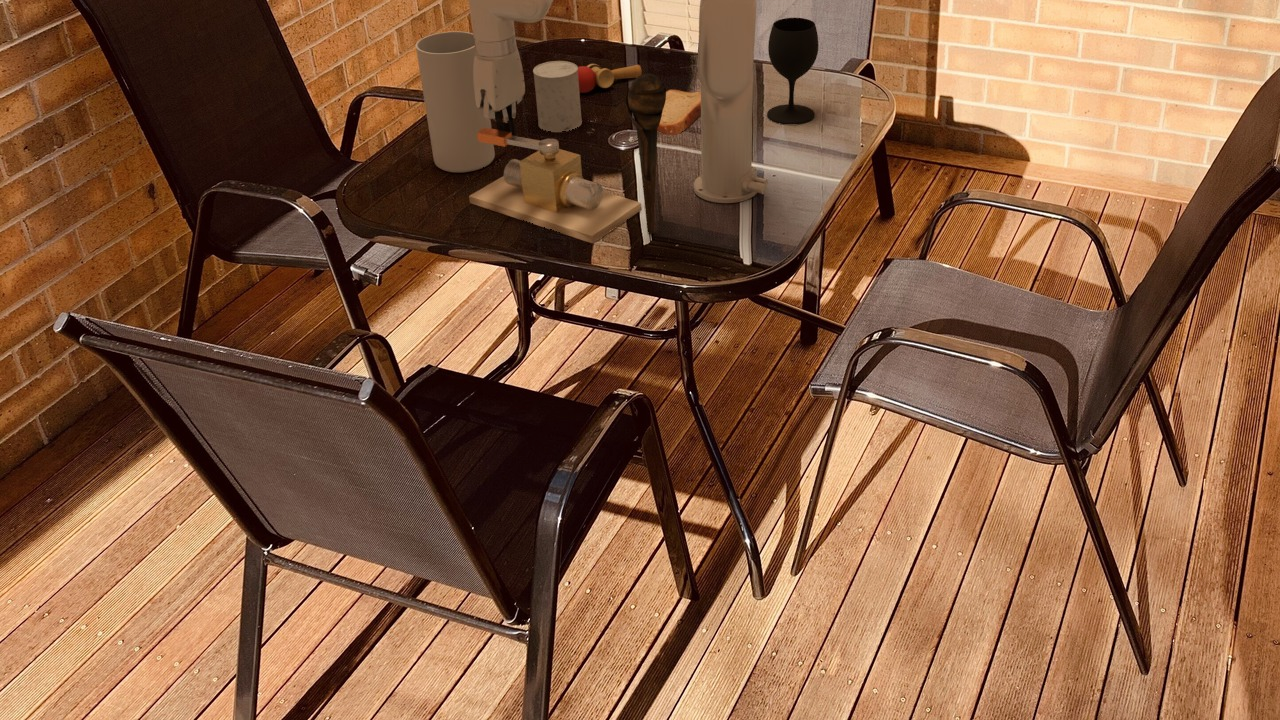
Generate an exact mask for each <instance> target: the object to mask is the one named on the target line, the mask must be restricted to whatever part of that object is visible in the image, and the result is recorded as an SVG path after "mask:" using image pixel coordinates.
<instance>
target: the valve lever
mask: <svg viewBox="0 0 1280 720" xmlns="http://www.w3.org/2000/svg"><path fill="white" fill-rule="evenodd" d="M491 128H492V127H491ZM491 128H483V129H482V130H480V131H479V132H477V137H478V142H483V143H488V144H494V146H499V147H504V148H505V147H507V146H508V145H510V146H516V147H519V148H520V147H521V148H525V149H531V150H534V151H535V150H536V151H539V150H540V154H541V155H544V156H552V155H556V154H558V153H559V149H560V145H559V140H558V139H556V138H544V139H541V140H539V139H533V138H528V137H527V138H526V137H521V136H519V135H518V136H517V135H516V136H512V134H511V132H507V131H501V130H497V128H496V129H495V128H492V129H491Z"/></svg>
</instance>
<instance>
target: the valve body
mask: <svg viewBox="0 0 1280 720" xmlns="http://www.w3.org/2000/svg"><path fill="white" fill-rule="evenodd" d="M581 157H582V156H581V154H579V153H574V152H571V151H567V150H564V149H561V148H559V153H558V154H556V155H552V156H544V155H541V154H540V150H536V152H534V153H532V154H530V155H528V156H527V157H524V158H523V159H521V160H519V159H516V158H513V159H510V160H509V161H508V163H507V164H506V165H505V167H504V170H503V176H504V180H505V182H506V183H507V184H509V185H512V186H515V187H519V188H522V190H523V196H524V203H527V204H530V205H533V206H536V207H539V208H543V209H546V210H549V211H552V212H555V213H558V212H559V211H561V210H563V209H564V208H566V207H575V206H580V207H583V208H586V209H589V210H594V209H596V208H597V207H598V206H599V204H600V203H601V200H602V196H603V192H604V191H603V190H604V189H603V186H602V185H601V184H600V183H598V182H595V181H590V180H588V179H584V177H583V171H582V159H581Z"/></svg>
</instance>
